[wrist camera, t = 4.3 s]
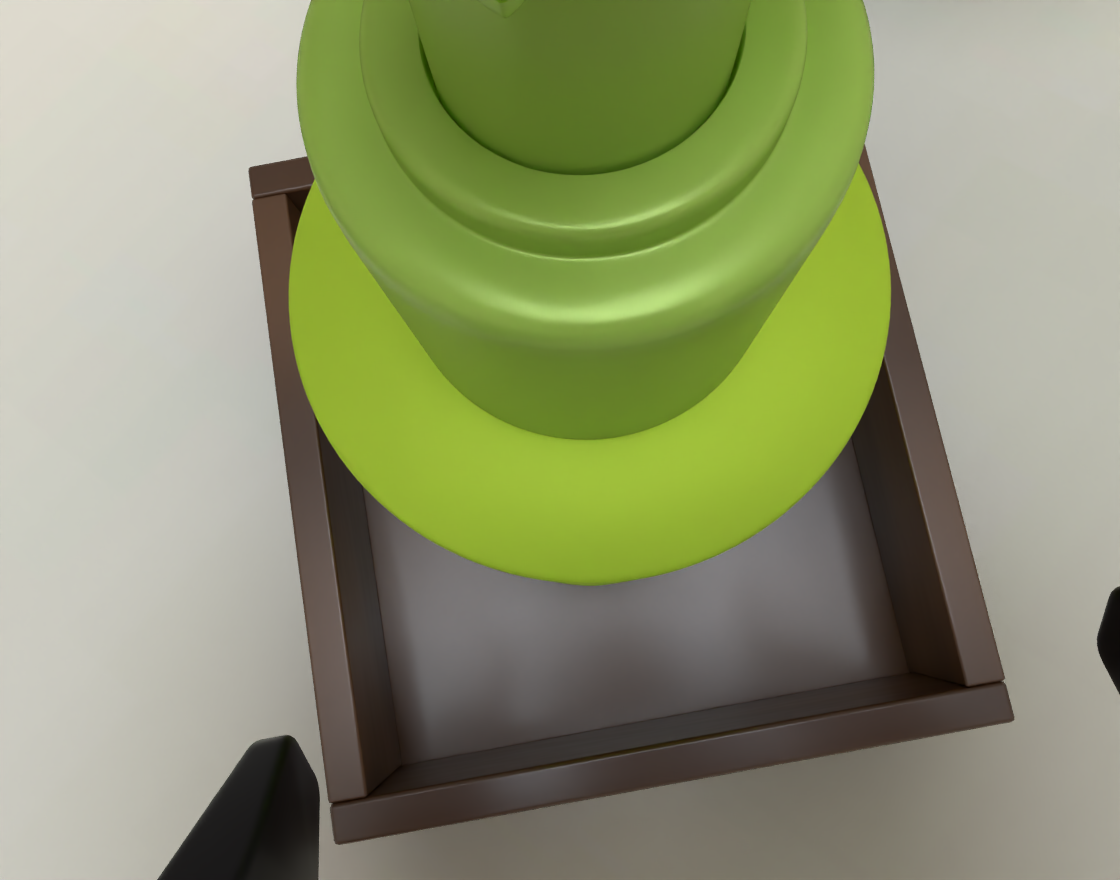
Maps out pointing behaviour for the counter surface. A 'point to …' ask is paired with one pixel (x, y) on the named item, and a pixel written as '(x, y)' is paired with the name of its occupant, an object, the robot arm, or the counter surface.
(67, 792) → the counter surface
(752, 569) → the crate
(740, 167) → the soap dispenser
